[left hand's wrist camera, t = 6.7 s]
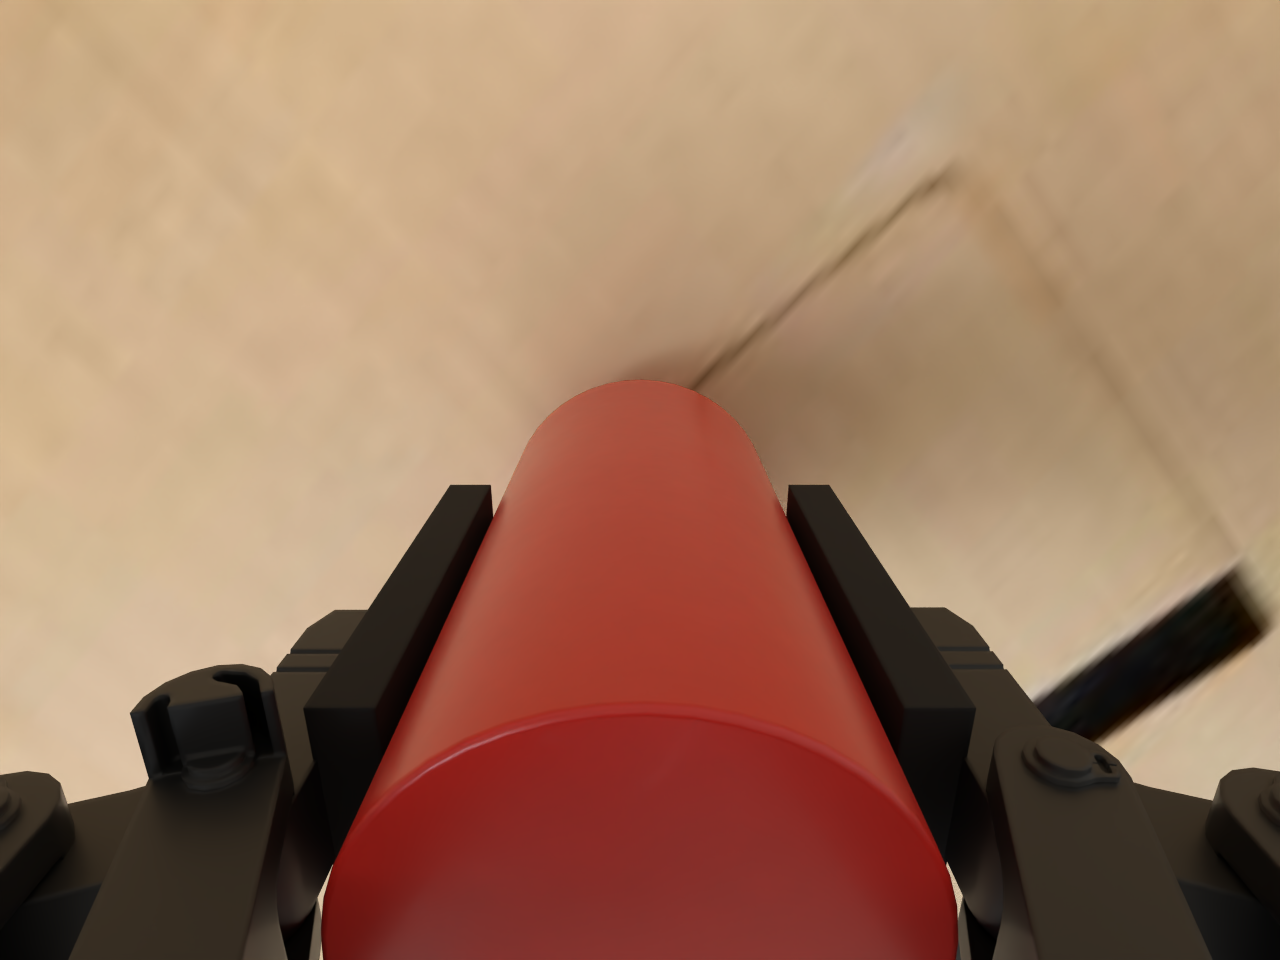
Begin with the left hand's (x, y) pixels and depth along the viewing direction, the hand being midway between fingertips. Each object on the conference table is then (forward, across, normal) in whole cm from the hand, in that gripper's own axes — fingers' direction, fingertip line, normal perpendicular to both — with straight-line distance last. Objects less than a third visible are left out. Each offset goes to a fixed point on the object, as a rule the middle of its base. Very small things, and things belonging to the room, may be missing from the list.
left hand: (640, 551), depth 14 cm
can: (+2, 0, 0) cm, 2 cm away
